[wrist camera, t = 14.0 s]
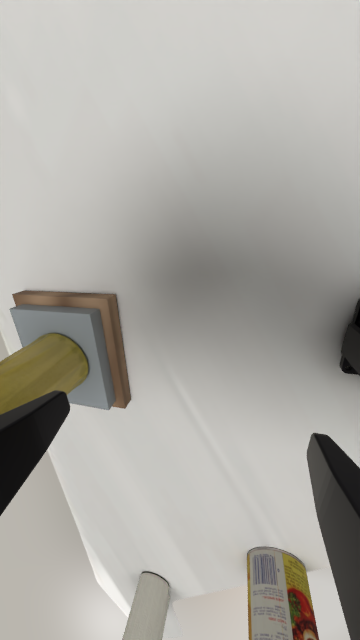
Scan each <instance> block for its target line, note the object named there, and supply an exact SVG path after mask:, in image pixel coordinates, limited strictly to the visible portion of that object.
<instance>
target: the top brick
mask: <svg viewBox="0 0 360 640" xmlns="http://www.w3.org/2000/svg"><path fill="white" fill-rule="evenodd" d="M10 312H11V315H12V318H13V321H14V323H15V326H16V329H17V332H18V335H19V338H20V341H21V344H22V347H25V346H27V345H29V344H30V343H32V342H33V341H35V340H36V339H38V338H39V337H40V336H42V335H45V334H49V333H56V334H60V335H63V336H65V337H67V338H69V339H71V340H72V341H73V342H74V343H76V344H77V345H78V346H79V348H80V349H81V350H82V352H83V353H84V355H85V357H86V359H87V363H88V375H87V377H86V379H85V380H84V382H83V383H82V384H80V385H79V386H77V387H76V388H75V389H74V390H72V391H71V392H70V393H69V394H68V395H67V397H68V401H69V403H72V404H77V405H83V406H89V407H94V408H100V409H105V410H109V409H110V408H111V407H112V405H113V404H114V402H115V401H116V398H115V392H114V387H113V381H112V376H111V370H110V365H109V359H108V353H107V348H106V342H105V337H104V331H103V326H102V320H101V314H100V309H95V308H78V307H62V306H46V305H29V304H22V305H19V306H16V307H13V308H11V309H10Z"/></svg>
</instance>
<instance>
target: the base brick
mask: <svg viewBox="0 0 360 640" xmlns="http://www.w3.org/2000/svg"><path fill="white" fill-rule="evenodd" d="M12 295H13V298H14V301H15V304H16V306H19V305H22V304H29V305H46V306H62V307H78V308H95V309H100V314H101V320H102V326H103V331H104V337H105V342H106V348H107V353H108V359H109V365H110V370H111V376H112V381H113V387H114V392H115V398H116V401H115V402H114V404H113V405H112V406H113V407H119V408H124V409H125V408H126V406H127V405H128V403H129V402H130V400H131V397H130V390H129V383H128V376H127V369H126V363H125V356H124V349H123V342H122V335H121V328H120V322H119V315H118V308H117V301H116V295H114V294H91V293H68V292H45V291H22V292H19V293H15V294H12Z"/></svg>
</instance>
